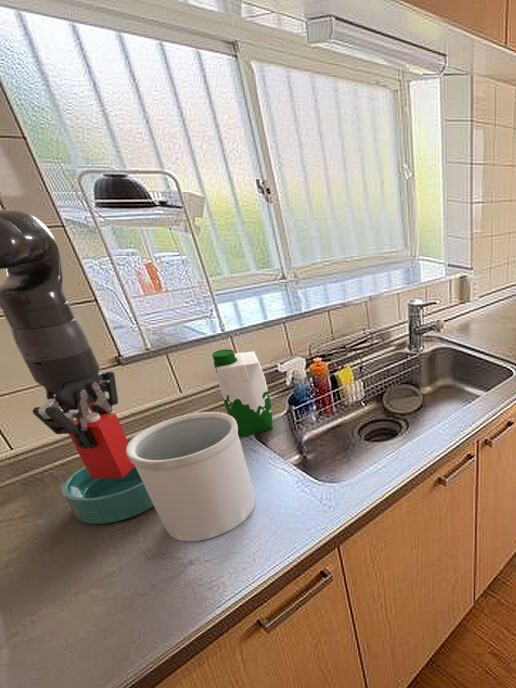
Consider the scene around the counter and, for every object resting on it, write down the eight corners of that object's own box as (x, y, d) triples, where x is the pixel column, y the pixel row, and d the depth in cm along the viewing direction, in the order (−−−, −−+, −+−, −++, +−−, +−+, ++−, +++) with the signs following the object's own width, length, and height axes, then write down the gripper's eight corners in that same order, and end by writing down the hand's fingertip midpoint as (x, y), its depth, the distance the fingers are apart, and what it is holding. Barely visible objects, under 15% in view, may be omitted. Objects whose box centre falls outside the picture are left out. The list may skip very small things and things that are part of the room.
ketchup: (91, 478, 74) (62, 422, 69) (107, 464, 78) (81, 410, 72) (123, 477, 75) (96, 422, 70) (137, 463, 78) (114, 409, 73)
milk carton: (231, 422, 103) (209, 347, 94) (272, 413, 108) (255, 341, 98) (234, 440, 97) (210, 362, 87) (278, 430, 101) (260, 354, 92)
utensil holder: (151, 513, 76) (115, 433, 68) (241, 475, 87) (219, 402, 78) (176, 560, 68) (138, 475, 60) (272, 512, 78) (250, 434, 70)
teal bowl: (54, 528, 72) (38, 502, 69) (113, 474, 85) (101, 450, 82) (146, 524, 74) (133, 498, 71) (190, 472, 87) (181, 448, 84)
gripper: (66, 332, 71) (105, 418, 79) (-17, 368, 58) (40, 466, 66) (115, 333, 72) (149, 417, 80) (45, 368, 60) (93, 464, 67)
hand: (99, 439), depth 73 cm, fingers closed on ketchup, 4 cm apart
